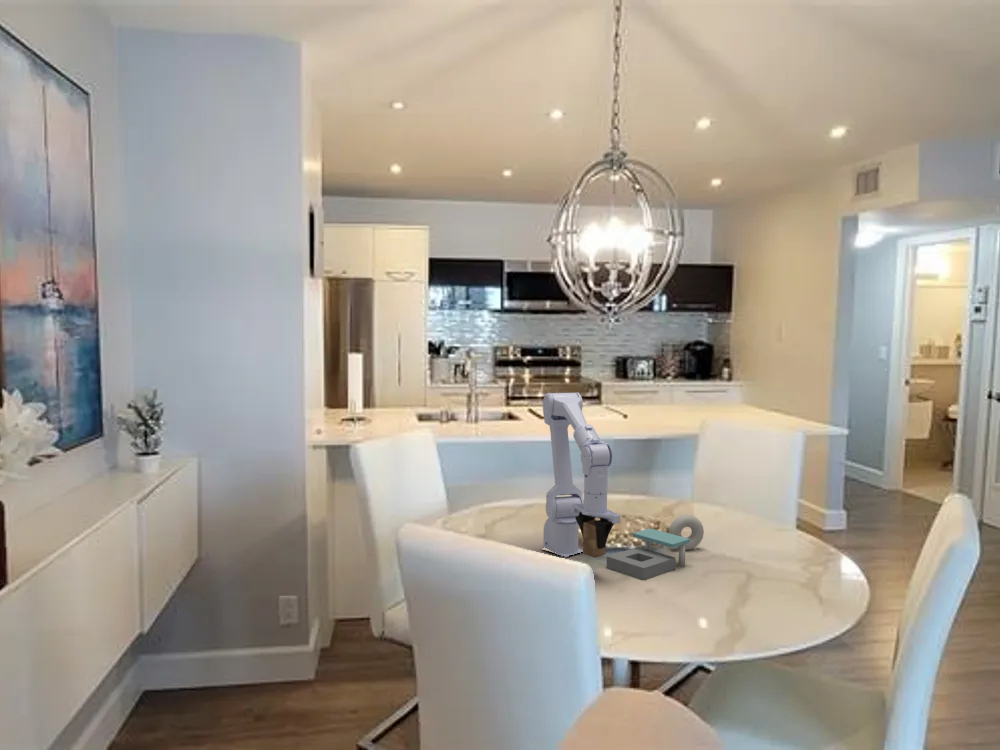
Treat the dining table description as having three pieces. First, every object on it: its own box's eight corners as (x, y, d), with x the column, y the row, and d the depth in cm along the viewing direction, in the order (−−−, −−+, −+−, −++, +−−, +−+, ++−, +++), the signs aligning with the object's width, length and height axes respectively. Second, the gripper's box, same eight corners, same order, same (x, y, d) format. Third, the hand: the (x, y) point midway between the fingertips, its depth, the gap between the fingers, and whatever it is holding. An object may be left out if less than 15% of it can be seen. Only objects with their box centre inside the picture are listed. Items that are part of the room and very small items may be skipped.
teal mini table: (632, 558, 201) (632, 533, 200) (649, 553, 205) (650, 528, 205) (672, 571, 191) (672, 544, 190) (689, 565, 196) (690, 538, 195)
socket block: (606, 567, 193) (606, 556, 193) (638, 557, 201) (638, 546, 201) (643, 580, 184) (643, 568, 184) (675, 569, 192) (675, 557, 192)
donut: (670, 552, 207) (671, 516, 206) (666, 548, 210) (667, 513, 209) (705, 551, 208) (706, 515, 207) (700, 547, 211) (701, 512, 211)
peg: (582, 553, 187) (583, 522, 186) (593, 550, 189) (594, 519, 189) (594, 557, 184) (595, 525, 183) (605, 554, 186) (606, 523, 186)
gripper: (563, 489, 188) (562, 541, 189) (607, 500, 177) (605, 555, 178) (582, 485, 193) (581, 536, 194) (626, 495, 182) (625, 550, 183)
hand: (594, 545), depth 186 cm, fingers closed on peg, 4 cm apart
